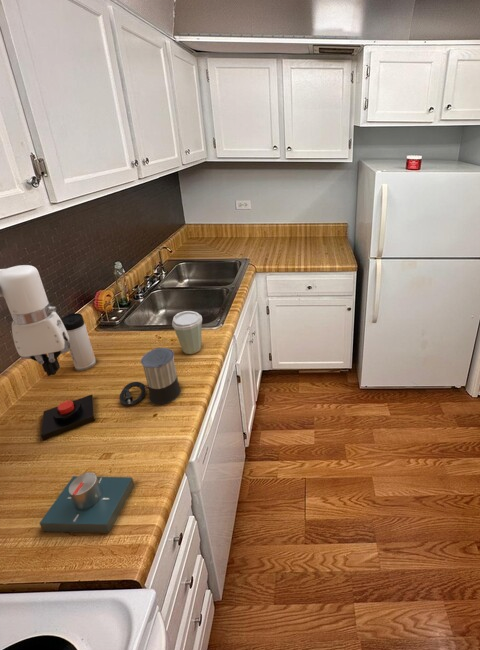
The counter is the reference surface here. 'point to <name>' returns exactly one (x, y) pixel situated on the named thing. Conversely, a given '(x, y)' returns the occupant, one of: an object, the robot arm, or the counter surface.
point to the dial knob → (85, 491)
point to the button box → (68, 418)
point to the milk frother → (156, 379)
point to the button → (66, 407)
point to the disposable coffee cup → (188, 330)
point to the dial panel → (94, 518)
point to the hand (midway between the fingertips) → (53, 372)
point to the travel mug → (79, 342)
